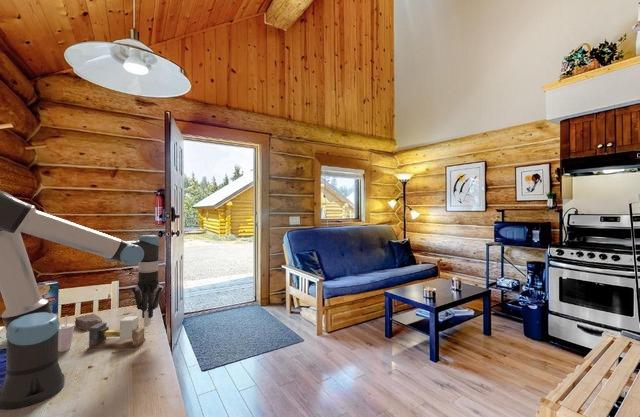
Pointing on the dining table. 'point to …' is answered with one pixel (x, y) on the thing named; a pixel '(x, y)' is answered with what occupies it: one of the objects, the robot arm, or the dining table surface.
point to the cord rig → (101, 332)
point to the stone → (87, 321)
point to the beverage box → (50, 294)
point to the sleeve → (128, 326)
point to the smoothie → (65, 336)
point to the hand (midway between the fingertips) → (147, 325)
